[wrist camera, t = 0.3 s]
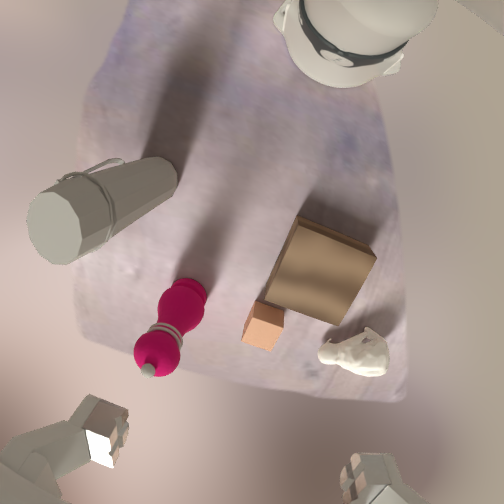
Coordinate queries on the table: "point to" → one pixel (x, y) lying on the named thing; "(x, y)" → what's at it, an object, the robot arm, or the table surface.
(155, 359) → the pepper mill
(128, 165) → the water bottle
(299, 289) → the walnut stand
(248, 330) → the terracotta cube
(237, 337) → the table surface
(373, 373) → the penguin figurine
